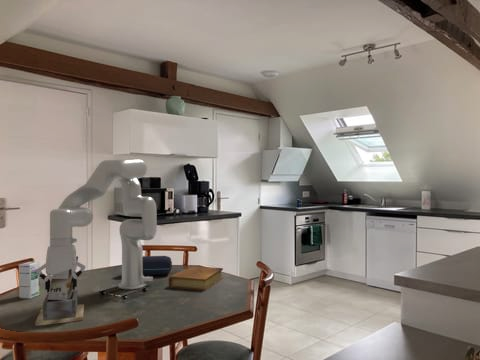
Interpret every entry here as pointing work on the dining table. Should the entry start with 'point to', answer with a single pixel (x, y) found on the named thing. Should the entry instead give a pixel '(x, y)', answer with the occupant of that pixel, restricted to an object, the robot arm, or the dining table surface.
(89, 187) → the robot arm
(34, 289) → the syrup box
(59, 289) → the coffee box
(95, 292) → the dining table surface
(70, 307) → the frame
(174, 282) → the diary
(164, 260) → the portable speaker
